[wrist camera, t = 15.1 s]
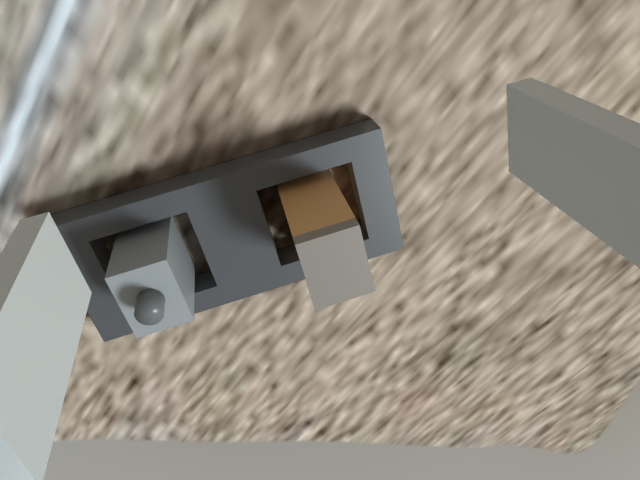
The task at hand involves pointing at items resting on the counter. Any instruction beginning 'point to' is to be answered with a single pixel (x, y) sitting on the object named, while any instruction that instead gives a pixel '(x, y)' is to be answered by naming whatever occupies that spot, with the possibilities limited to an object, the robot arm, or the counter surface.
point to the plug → (326, 239)
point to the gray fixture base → (216, 232)
